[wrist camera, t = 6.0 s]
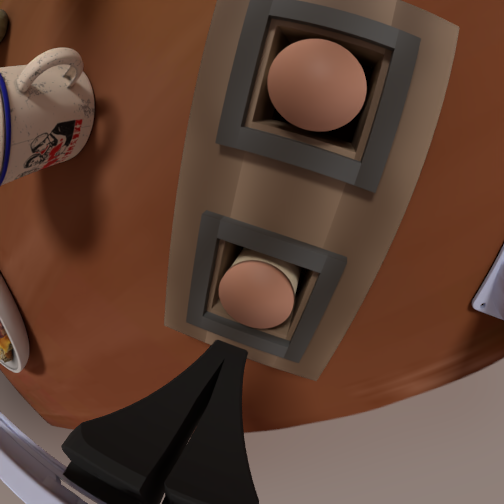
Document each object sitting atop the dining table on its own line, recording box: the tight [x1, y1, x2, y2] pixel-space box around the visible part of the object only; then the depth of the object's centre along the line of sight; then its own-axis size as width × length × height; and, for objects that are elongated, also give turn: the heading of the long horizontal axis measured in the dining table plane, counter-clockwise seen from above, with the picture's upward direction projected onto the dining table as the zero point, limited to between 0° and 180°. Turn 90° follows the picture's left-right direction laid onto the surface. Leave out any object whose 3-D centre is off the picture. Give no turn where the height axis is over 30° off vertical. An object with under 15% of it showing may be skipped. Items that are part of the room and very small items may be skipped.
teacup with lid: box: [0, 48, 95, 186], centre depth 14 cm, size 12×9×12 cm
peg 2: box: [267, 39, 367, 131], centre depth 13 cm, size 4×4×5 cm
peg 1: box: [219, 247, 302, 329], centre depth 18 cm, size 4×4×5 cm
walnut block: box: [164, 0, 459, 381], centre depth 16 cm, size 11×22×5 cm, turn 166°
